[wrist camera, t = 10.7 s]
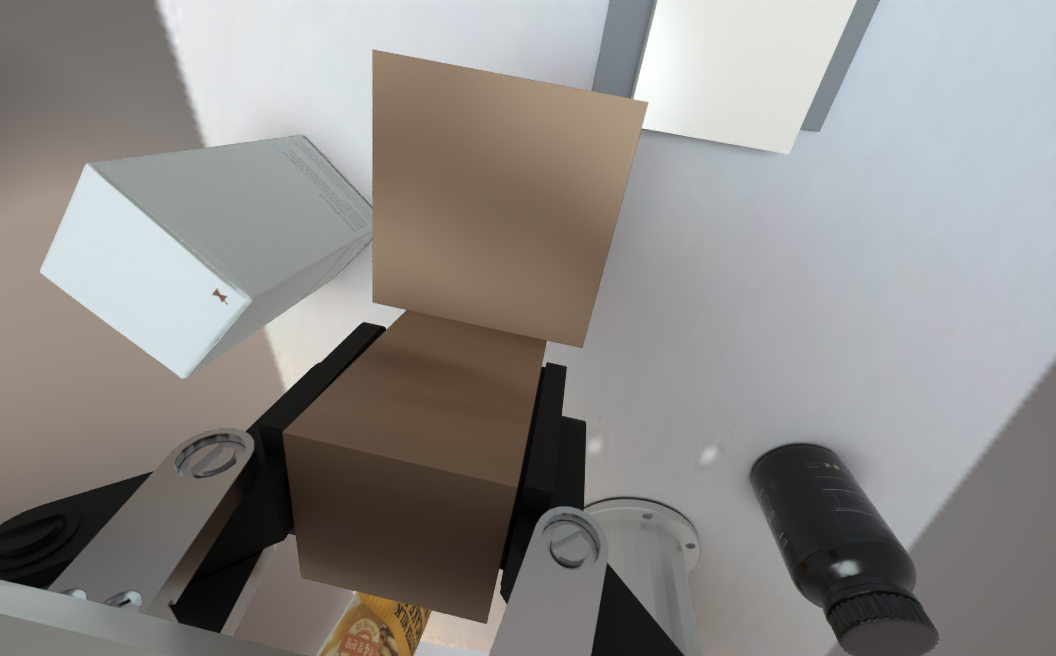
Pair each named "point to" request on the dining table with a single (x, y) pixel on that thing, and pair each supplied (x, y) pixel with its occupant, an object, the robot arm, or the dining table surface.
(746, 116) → the tile
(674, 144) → the dining table surface
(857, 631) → the supplement bottle
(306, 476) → the wooden block stack
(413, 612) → the pancake mix bag
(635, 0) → the mat
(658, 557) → the robot arm
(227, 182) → the supplement box
